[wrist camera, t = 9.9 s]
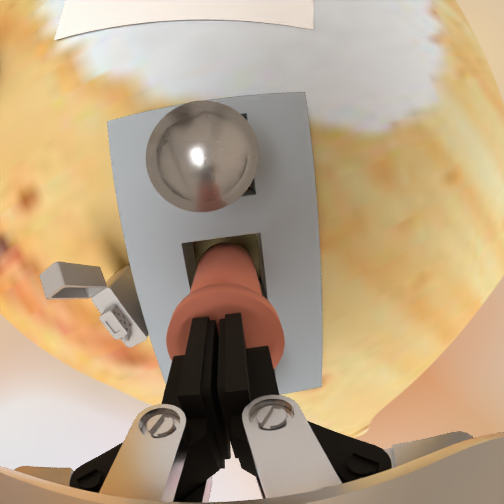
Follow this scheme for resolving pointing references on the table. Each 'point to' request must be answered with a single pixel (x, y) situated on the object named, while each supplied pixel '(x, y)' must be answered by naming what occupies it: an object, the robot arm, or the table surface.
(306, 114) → the socket board
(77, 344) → the table surface
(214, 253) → the plug red
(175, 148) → the plug grey
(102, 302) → the grey white bent piece
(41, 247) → the table surface
